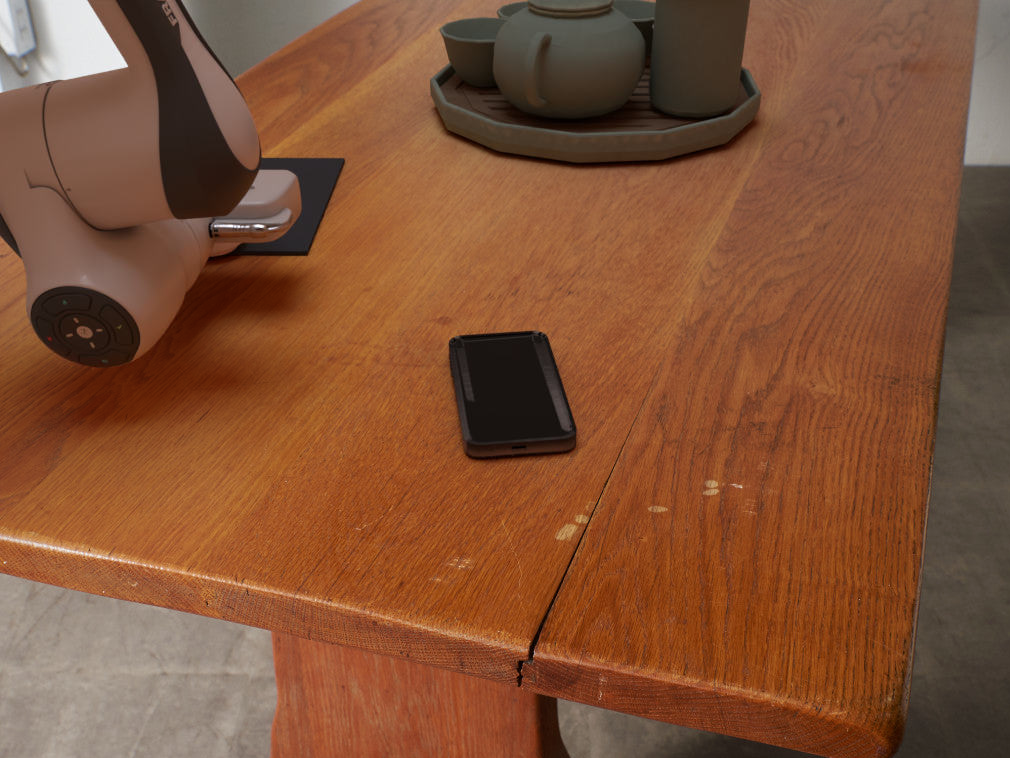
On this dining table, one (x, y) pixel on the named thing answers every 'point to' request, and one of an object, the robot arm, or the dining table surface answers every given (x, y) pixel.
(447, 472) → the dining table surface
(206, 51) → the robot arm
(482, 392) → the phone
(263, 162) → the mat
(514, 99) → the tea set
